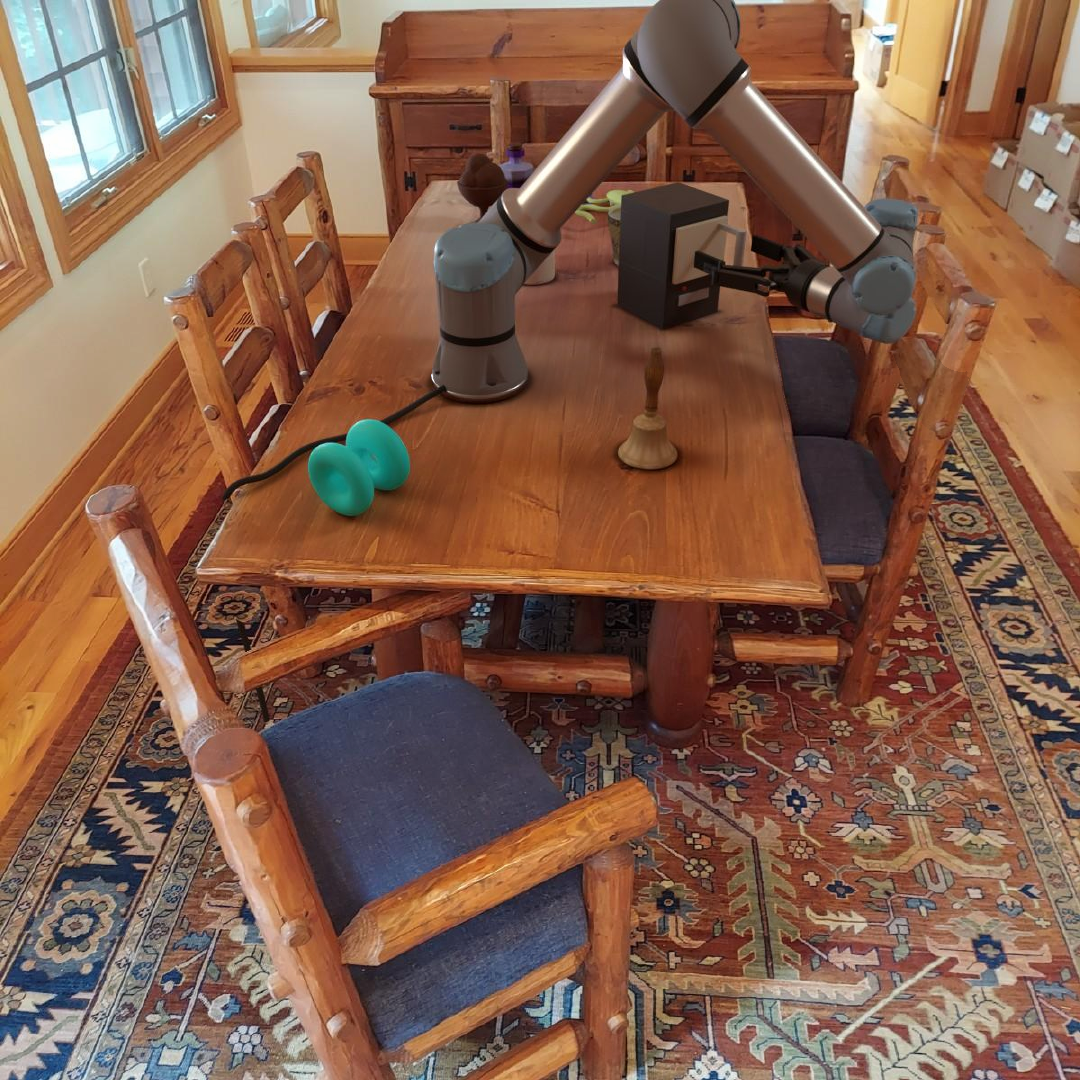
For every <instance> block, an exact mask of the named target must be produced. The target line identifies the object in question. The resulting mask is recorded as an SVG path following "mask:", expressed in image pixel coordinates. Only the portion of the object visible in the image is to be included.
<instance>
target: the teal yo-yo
mask: <svg viewBox="0 0 1080 1080" xmlns="http://www.w3.org/2000/svg"><path fill="white" fill-rule="evenodd" d="M380 421H381V420H377V419H371V418H366V419H361V420H358V421H357V422H355V423H354V424H353V425H352V426H351V427H350V428H349V430H348V432H347V433H348V434H347V438H346V440H345V445H343V444H341V443H339V442H337V443H324V444H321V445H319V446H318V447H316V448H315V449H312V450H311V453H310V455H309V458H308V462H307V472H308V473H307V474H308V477H309V481H310V483H311V485H312V487H313V489H314V492H315V493H316V494H317V496H318V497H319V498H320V500H321V501H322V502H323V503H324V505H326V506H327V507H328V508H330V509H331V510H333V511H334V512H336V513H338V514H341V515H343V516H348V517H354V516H355V517H356V516H360V515H361V514H363V513H365V512H366V511H367V510H369V508H370V506H371V505H372V503H373V501H374V496H375V489H377V490H379V491H380V490H381V491H394V490H396V489H399V488H400V487H401V486H403V485H404V484H405V483H406V481H407V480H408V478H409V475H410V471H411V461H410V460H411V459H410V455H409V452H408V449H407V447H406V445H405V443H404V441H403V440H402V438H401V437H400V436H399V435H398V433H397V432H396V431H395V430H394V429H393V428H391V427H390V426H389V425H388V424H387V425H386V424H384V423H382V422H380Z"/></svg>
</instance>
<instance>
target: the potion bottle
mask: <svg viewBox="0 0 1080 1080" xmlns="http://www.w3.org/2000/svg"><path fill="white" fill-rule="evenodd" d="M505 152H506V156H507V158H509V161H505V162H503V163H501V164H500V163H499V164H497V165H498V166H500V167H501V169H502V171H503V173H504V176H505V179H506V180H507V181H508V185H507V189H509V188H521V186H522V185H523V184H524V183H525V182H526V180H527V179H528V178H529V177H530V176H531V175H532V173H533V172H534V165H533V164H532V163H530V162H526V161H523V160H522V159H523V157H525V156H526V155H525V149H524V147H523V145H522V142H510V143H508V148H506V149H505Z"/></svg>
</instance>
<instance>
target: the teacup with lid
mask: <svg viewBox="0 0 1080 1080" xmlns="http://www.w3.org/2000/svg"><path fill="white" fill-rule="evenodd" d="M555 249H556V248H555ZM555 249H554V250H553V252H552V253H551V254H550V255H549V256H548V257H547V258H546V259H545V260H544V261H543V263H542V264H541V265H540V266H539V267H538V269H537V270H536V271H535V272H534V273H533V274H532V275H531V276H530V277H529V278H528V279H527V281H526V282H525V283H524V284H523V285H529V286H535V285H543V284H547V283H550V282H551V281H553V280H554V278H555V276H556V250H555Z"/></svg>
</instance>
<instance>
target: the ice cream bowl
mask: <svg viewBox="0 0 1080 1080" xmlns="http://www.w3.org/2000/svg"><path fill="white" fill-rule="evenodd" d="M498 165H499V164H497V163H496V162H493V161H491V159H490V158H489V156H487V155H486V154H485V153H479V152H477V153H474V154H472V155H470V156H469V157H468V159H467V160H466V163H465V171H463V172H462V173H461V175H460V177H459V180H457V182H456V184H457V189H458V191H459V193H460V195H461V196H462V197H463V198H464V200H466V201H467V203H469V204H470V205H472V206H474V207H476V208H478V210H479V217H478V218H477V219H476V220H474V221H473V222H472V223H478V222H479V221H480V220H481V219H482V217H483V216H484V215H485V214H486V213H487V211H488V210H489V209H490V208H491V207H492V205H493V204H494V203H495V202H496V201H497V199H498V198H499V197H500V196H501V195H502V193H503V192H504V191H505V190H506V189H507V185H508V181H507V180H506V179H505V176H504V173H503V171H502V169H501V167H500V166H498Z"/></svg>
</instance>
